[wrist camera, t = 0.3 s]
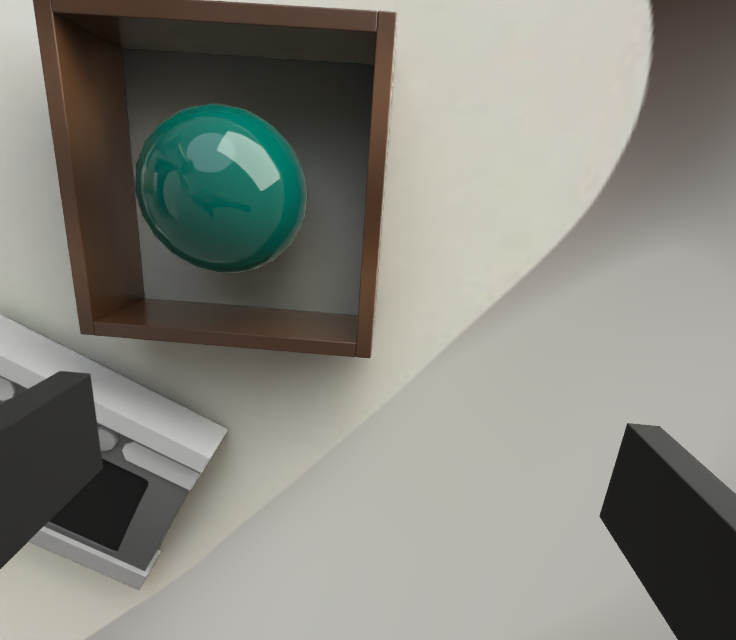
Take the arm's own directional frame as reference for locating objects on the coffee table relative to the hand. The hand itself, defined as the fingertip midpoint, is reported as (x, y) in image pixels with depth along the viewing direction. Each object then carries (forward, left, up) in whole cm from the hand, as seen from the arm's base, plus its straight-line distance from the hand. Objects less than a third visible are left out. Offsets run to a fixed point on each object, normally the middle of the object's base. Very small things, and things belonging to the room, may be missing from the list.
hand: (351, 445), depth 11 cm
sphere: (-5, -8, -17) cm, 19 cm away
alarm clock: (+14, -21, -17) cm, 30 cm away
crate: (-5, -8, -17) cm, 19 cm away
